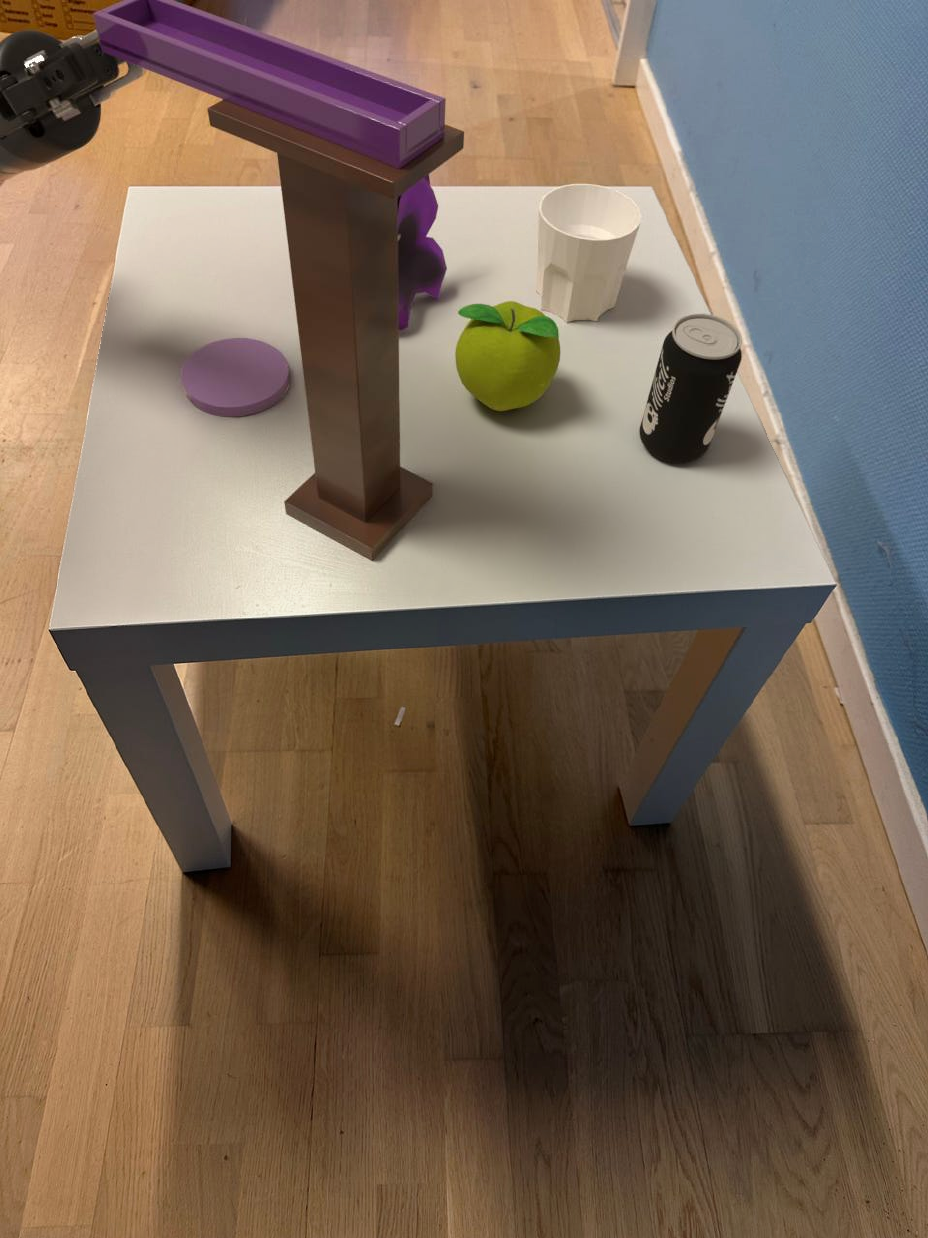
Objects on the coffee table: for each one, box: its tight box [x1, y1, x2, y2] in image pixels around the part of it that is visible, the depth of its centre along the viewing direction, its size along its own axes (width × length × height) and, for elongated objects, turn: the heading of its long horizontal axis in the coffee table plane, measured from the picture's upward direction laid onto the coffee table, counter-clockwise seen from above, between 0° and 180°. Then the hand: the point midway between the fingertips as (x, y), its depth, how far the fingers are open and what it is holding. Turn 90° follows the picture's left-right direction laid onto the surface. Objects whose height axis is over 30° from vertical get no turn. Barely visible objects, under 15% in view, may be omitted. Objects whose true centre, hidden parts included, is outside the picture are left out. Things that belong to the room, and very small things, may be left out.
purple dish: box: [92, 0, 447, 169], centre depth 51 cm, size 4×22×2 cm, turn 57°
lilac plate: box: [180, 337, 291, 418], centre depth 85 cm, size 10×10×1 cm
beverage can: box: [638, 313, 743, 464], centre depth 78 cm, size 7×7×12 cm
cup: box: [535, 183, 642, 323], centre depth 91 cm, size 10×10×10 cm
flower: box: [397, 174, 448, 332], centre depth 91 cm, size 15×15×14 cm
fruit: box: [454, 300, 561, 412], centre depth 82 cm, size 9×9×10 cm
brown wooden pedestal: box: [206, 99, 465, 561], centre depth 64 cm, size 9×13×32 cm
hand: (138, 37), depth 55 cm, fingers open, 8 cm apart
